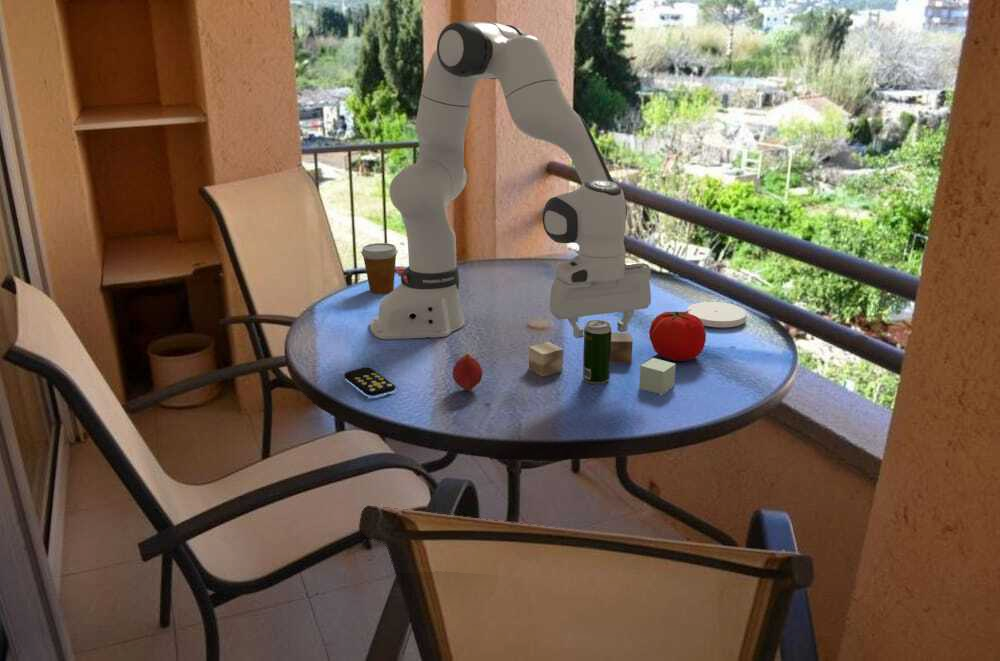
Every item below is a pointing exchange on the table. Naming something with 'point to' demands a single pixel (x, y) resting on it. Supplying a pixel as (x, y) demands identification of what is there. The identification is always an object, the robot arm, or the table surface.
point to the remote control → (369, 381)
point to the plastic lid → (718, 314)
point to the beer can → (597, 352)
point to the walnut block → (621, 348)
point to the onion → (467, 372)
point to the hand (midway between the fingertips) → (600, 333)
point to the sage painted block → (657, 375)
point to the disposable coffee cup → (380, 266)
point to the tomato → (677, 335)
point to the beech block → (545, 358)
